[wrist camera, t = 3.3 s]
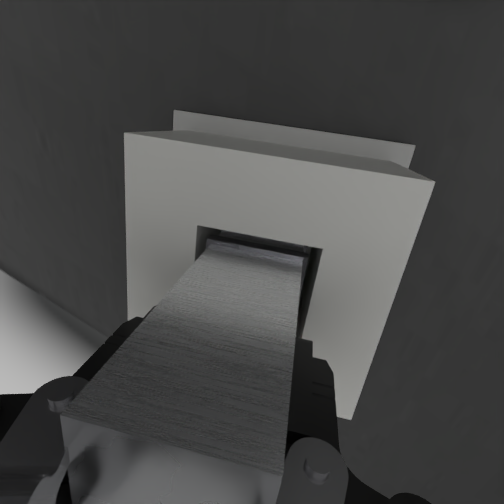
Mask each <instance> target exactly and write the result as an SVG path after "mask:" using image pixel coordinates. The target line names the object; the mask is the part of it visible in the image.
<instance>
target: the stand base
mask: <svg viewBox="0 0 504 504" xmlns="http://www.w3.org/2000/svg"><path fill="white" fill-rule="evenodd" d="M415 146H416V145H411V144H404V143H397V142H391V141H384V140H377V139H370V138H363V137H356V136H350V135H343V134H336V133H329V132H322V131H316V130H309V129H302V128H295V127H288V126H281V125H275V124H268V123H261V122H254V121H247V120H241V119H234V118H227V117H220V116H213V115H206V114H200V113H193V112H186V111H179V110H174V118H173V131H150V132H124V159H125V205H126V252H127V298H128V321H129V320H131V319H133V318H135V317H136V316H137V317H141V318H144V317H145V315H146V314H147V313H148V312H149V311H150V310H151V309H152V308H153V307H154V306H156V305H157V304H158V303H159V302H160V301H161V300H162V299H163V297H164V296H165V295H166V294H167V293H168V292H169V291H170V290H171V288H172V287H173V286H174V285H175V284H176V283H177V282H178V280H179V279H180V278H181V277H182V276H183V275H184V274H185V273H186V271H187V270H188V269H189V268H190V267H191V266H192V265H193V263H194V262H195V261H196V260H197V259H198V258H199V257H200V255H201V254H202V253H203V252H204V251H205V250H206V241H207V238H208V237H209V236H210V235H211V234H212V235H217V236H218V235H219V234H220V233H221V230H226V231H231V232H236V233H242V234H247V235H252V236H257V237H263V238H268V239H273V240H279V241H284V242H289V243H294V244H300V245H305V246H308V247H307V252H306V253H309V255H308V262H307V267H306V271H305V276H304V280H303V285H302V289H301V294H300V298H299V306H298V317H297V328H296V337H297V338H302V339H306V340H311V341H313V357H315V358H319V359H323V360H326V361H327V362H328V364H329V366H330V368H331V369H332V371H333V373H334V386H335V387H334V389H335V401H336V413H337V417H341V418H345V419H349V420H351V418H352V416H353V413H354V410H355V407H356V404H357V402H358V399H359V396H360V393H361V390H362V387H363V385H364V382H365V379H366V376H367V373H368V371H369V368H370V365H371V362H372V359H373V356H374V354H375V351H376V348H377V345H378V342H379V339H380V337H381V334H382V331H383V328H384V325H385V323H386V320H387V317H388V314H389V311H390V308H391V306H392V303H393V300H394V297H395V294H396V292H397V289H398V286H399V283H400V280H401V277H402V275H403V272H404V269H405V266H406V263H407V261H408V258H409V255H410V252H411V249H412V246H413V244H414V241H415V238H416V235H417V232H418V230H419V227H420V224H421V221H422V218H423V215H424V213H425V210H426V207H427V204H428V201H429V199H430V196H431V193H432V190H433V187H434V184H435V181H433V180H430V179H428V178H426V177H424V176H422V175H420V174H418V173H416V172H413V171H411V170H409V169H408V168H409V165H410V162H411V159H412V156H413V152H414V149H415Z"/></svg>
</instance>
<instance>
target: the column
mask: <svg viewBox="0 0 504 504" xmlns="http://www.w3.org/2000/svg"><path fill="white" fill-rule="evenodd" d="M307 247H308V246H305V245H300V244H294V243H289V242H284V241H279V240H273V239H268V238H263V237H257V236H252V235H247V234H242V233H236V232H231V231H226V230H221V233H220V234H219V235H218V236H217V235H212V234H211V235H210V236H209V237H208V238H207V241H206V250H205V251H204V252H203V253H202V254H201V255H200V257H199V258H198V259H197V260H196V261H195V262H194V263H193V265H192V266H191V267H190V268H189V269H188V270H187V271H186V273H185V274H184V275H183V276H182V277H181V278H180V279H179V280H178V282H177V283H176V284H175V285H174V286H173V287H172V288H171V290H170V291H169V292H168V293H167V294H166V295H165V296H164V297H163V299H162V300H161V301H160V302H159V303H158V304H157V305H156V307H155V308H154V309H153V310H152V311H151V312H150V313H149V314H148V316H147V317H146V318H145V319H144V320H143V321H142V322H141V324H140V325H139V326H138V327H137V328H136V329H135V330H134V332H133V333H132V334H131V335H130V336H129V337H128V338H127V339H126V341H125V342H124V343H123V344H122V345H121V346H120V347H119V349H118V350H117V351H116V352H115V353H114V354H113V355H112V356H111V358H110V359H109V360H108V361H107V362H106V363H105V364H104V366H103V367H102V368H101V369H100V370H99V371H98V372H97V374H96V375H95V376H94V377H93V378H92V379H91V380H90V381H89V383H88V384H87V385H86V386H85V387H84V388H83V389H82V391H81V392H80V393H79V394H78V395H77V396H76V397H75V398H74V400H73V401H72V402H71V403H70V404H69V405H68V406H67V408H66V409H65V410H64V411H63V412H62V413H61V414H60V419H61V427H62V434H63V441H64V446H67V447H68V451H69V459H70V464H69V466H68V477H69V484H70V491H71V498H72V504H276V500H277V497H278V493H279V489H280V485H281V481H282V478H283V469H284V458H285V447H286V436H287V425H288V415H289V404H290V393H291V382H292V371H293V360H294V350H295V339H296V328H297V317H298V306H299V298H300V294H301V289H302V285H303V280H304V276H305V271H306V267H307V262H308V255H309V253H306V252H307Z"/></svg>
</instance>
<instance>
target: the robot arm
mask: <svg viewBox="0 0 504 504" xmlns="http://www.w3.org/2000/svg"><path fill="white" fill-rule="evenodd" d="M155 307H156V306H154V307H153V308H152V309H151V310H150V311H149V312H148V313H147V314H146V315H145V317H144V318H141V317H137V316H136V317H135V318H133V319H131V320H129V321H127V322H125V323H123V324H122V325H121V326H120V327H119V328H118V329H117V330H116V331H115V332H114V333H113V336H110V337H109V338H108V339H107V340H106V342H105V344H103V345H102V346H101V347H100V348H99V349H98V350H97V351H96V352H95V353H94V354H93V355H92V356H91V357H90V358H89V359H88V360H87V361H86V362H85V363H84V364H83V365H82V366H81V367H80V369H78V371H77V372H76V373H75V374H74V375H73V376H67V377H61V378H57V379H54V380H52V381H50V382H48V383H46V384H44V385H43V386H41V387H40V388H39V389H37V390H36V392H35V393H32V394H2V395H0V504H72V498H71V491H70V484H69V477H68V466H69V464H70V459H69V451H68V447H67V446H64V441H63V434H62V427H61V419H60V414H61V413H62V412H63V411H64V410H65V409H66V408H67V406H68V405H69V404H70V403H71V402H72V401H73V400H74V398H75V397H76V396H77V395H78V394H79V393H80V392H81V391H82V389H83V388H84V387H85V386H86V385H87V384H88V383H89V381H90V380H91V379H92V378H93V377H94V376H95V375H96V374H97V372H98V371H99V370H100V369H101V368H102V367H103V366H104V364H105V363H106V362H107V361H108V360H109V359H110V358H111V356H112V355H113V354H114V353H115V352H116V351H117V350H118V349H119V347H120V346H121V345H122V344H123V343H124V342H125V341H126V339H127V338H128V337H129V336H130V335H131V334H132V333H133V332H134V330H135V329H136V328H137V327H138V326H139V325H140V324H141V322H142V321H143V320H144V319H145V318H146V317H147V316H148V314H149V313H150V312H151V311H152V310H153V309H154V308H155ZM334 387H335V386H334V373H333V371H332V369H331V368H330V366H329V364H328V362H327V361H326V360H323V359H319V358H315V357H313V341H311V340H306V339H302V338H297V337H296V339H295V350H294V360H293V371H292V382H291V393H290V404H289V415H288V425H287V436H286V447H285V458H284V469H283V478H282V481H281V485H280V489H279V493H278V497H277V500H276V504H431V503H430V502H428V501H427V500H425V499H423V498H421V497H420V496H417V495H414V494H410V493H399V494H396V495H394V496H393V497H392V498H391V499H388V498H387V497H385V496H383V495H382V494H380V493H378V492H377V491H375V490H374V489H372V488H370V487H369V486H367V485H366V484H364V483H363V482H361V481H360V480H359V479H358V478H357V477H356V476H355V475H354V474H353V473H352V472H351V471H350V470H349V468H348V467H347V466H346V463H345V461H344V459H343V458H342V456H341V453H340V449H339V440H338V426H337V413H336V401H335V389H334Z"/></svg>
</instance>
